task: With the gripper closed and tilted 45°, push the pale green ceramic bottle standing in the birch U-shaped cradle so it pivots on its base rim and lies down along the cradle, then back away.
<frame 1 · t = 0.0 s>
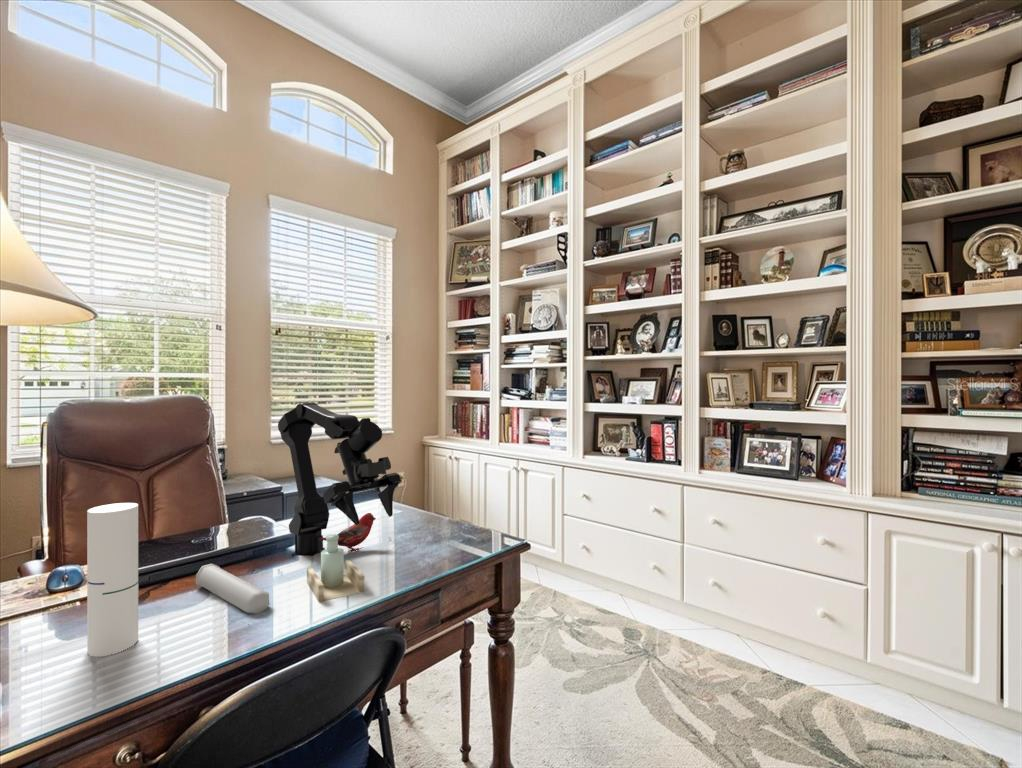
hand: (374, 520, 117), 15 cm above the table, tool tilted 35°, fingers open, 9 cm apart
bottle: (332, 583, 115), resting on cradle
cradle: (335, 589, 113), on the table
decorative bird figurine: (348, 554, 137), on the table
cylindrical container: (113, 646, 89), on the table
tube: (233, 600, 108), on the table
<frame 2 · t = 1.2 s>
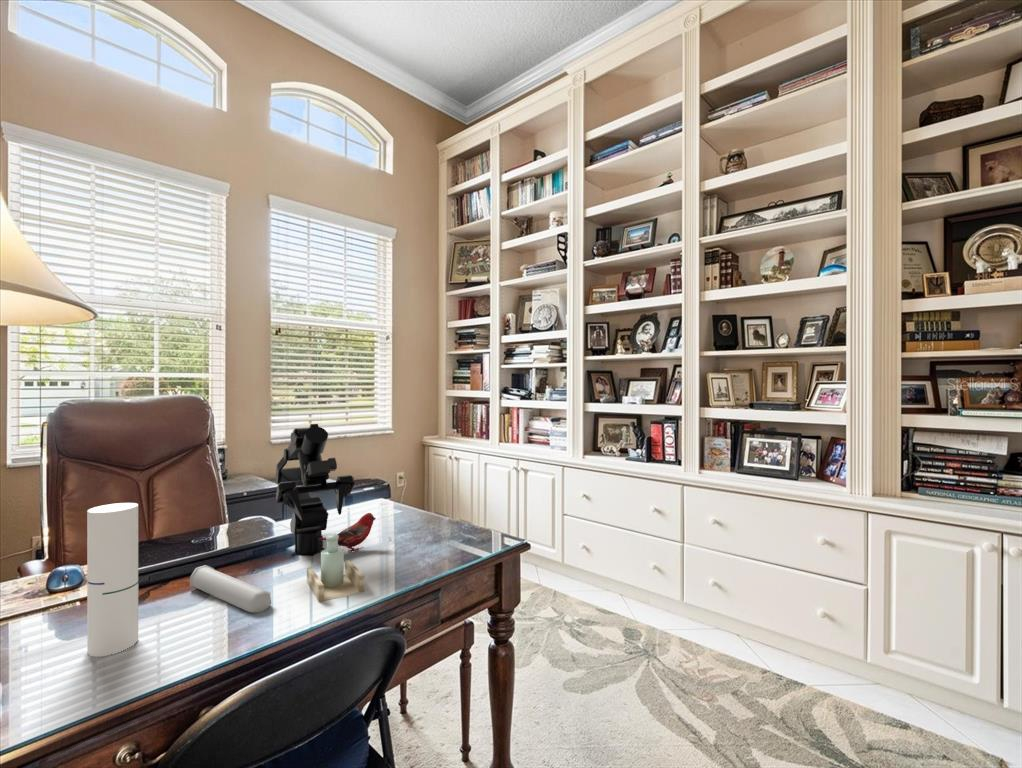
hand: (321, 516, 125), 14 cm above the table, tool tilted 45°, fingers open, 9 cm apart
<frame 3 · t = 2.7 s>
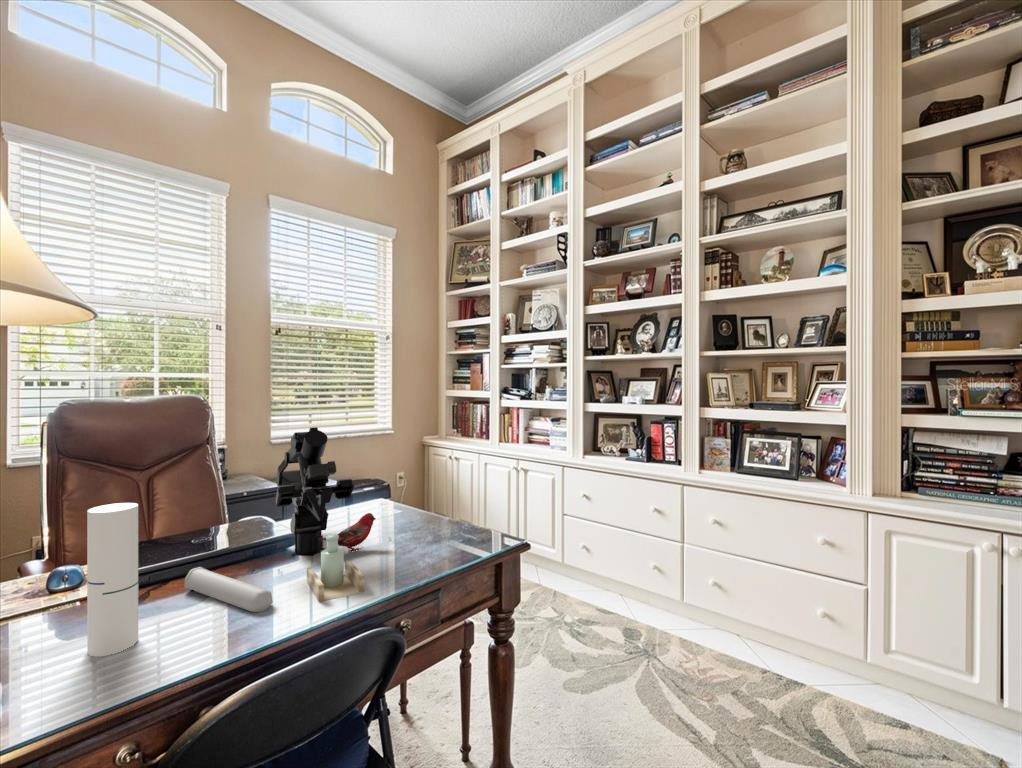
hand: (321, 520, 124), 13 cm above the table, tool tilted 45°, fingers closed
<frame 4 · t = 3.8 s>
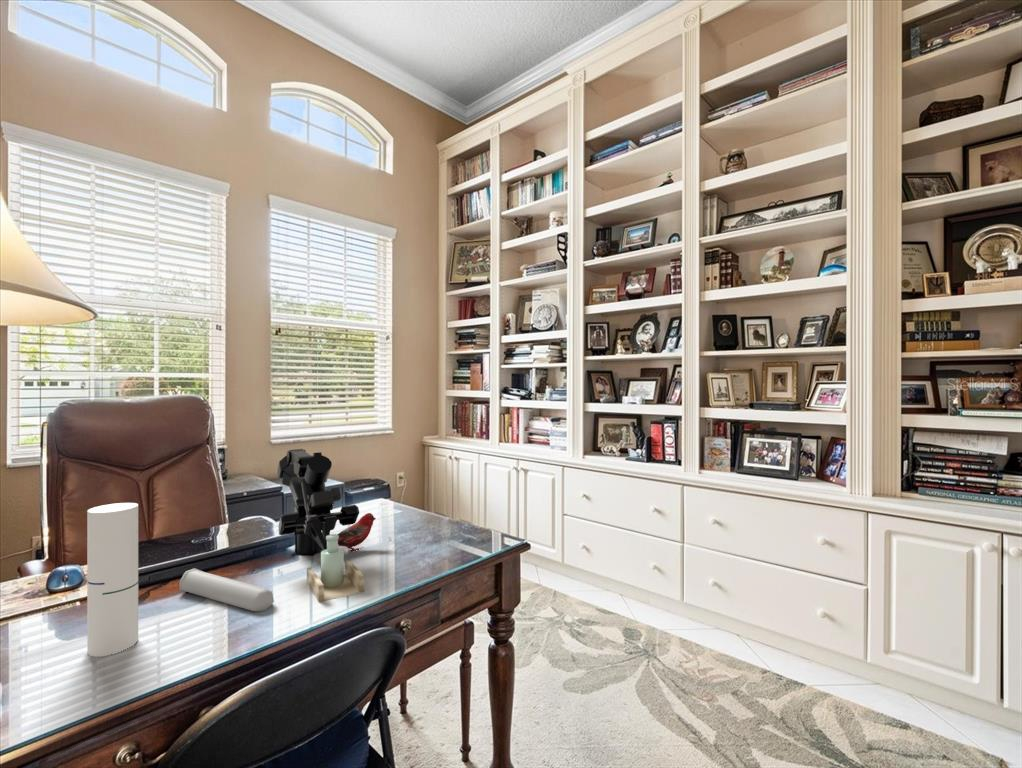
hand: (325, 549, 120), 7 cm above the table, tool tilted 45°, fingers closed
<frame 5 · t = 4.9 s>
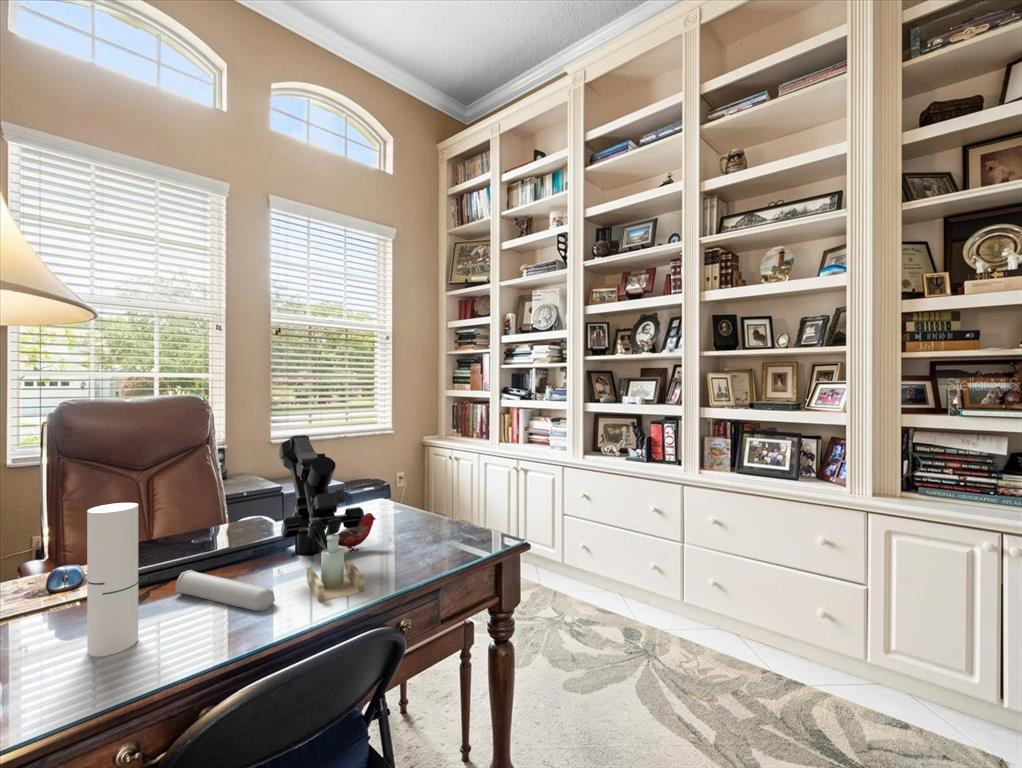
hand: (329, 553, 117), 7 cm above the table, tool tilted 45°, fingers closed, pressing on bottle
bottle: (332, 582, 115), point 1 cm above the table, touching cradle, gripper
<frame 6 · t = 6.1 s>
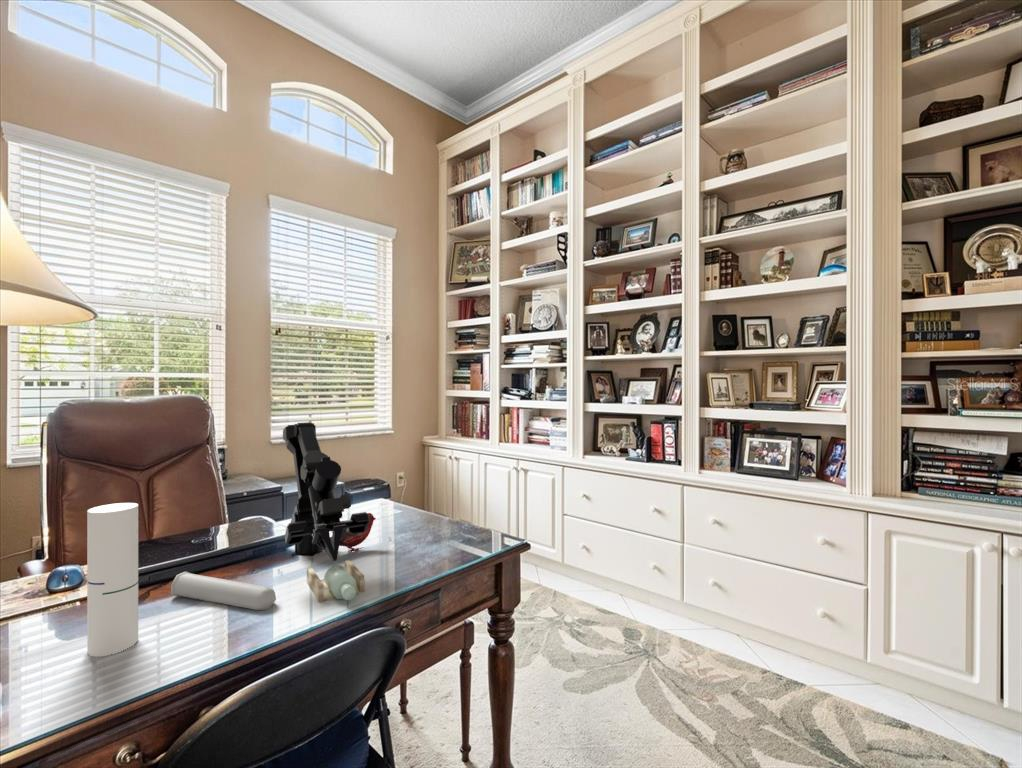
hand: (335, 560, 113), 7 cm above the table, tool tilted 45°, fingers closed
bottle: (335, 576, 113), point 3 cm above the table, tilted 90°, touching cradle
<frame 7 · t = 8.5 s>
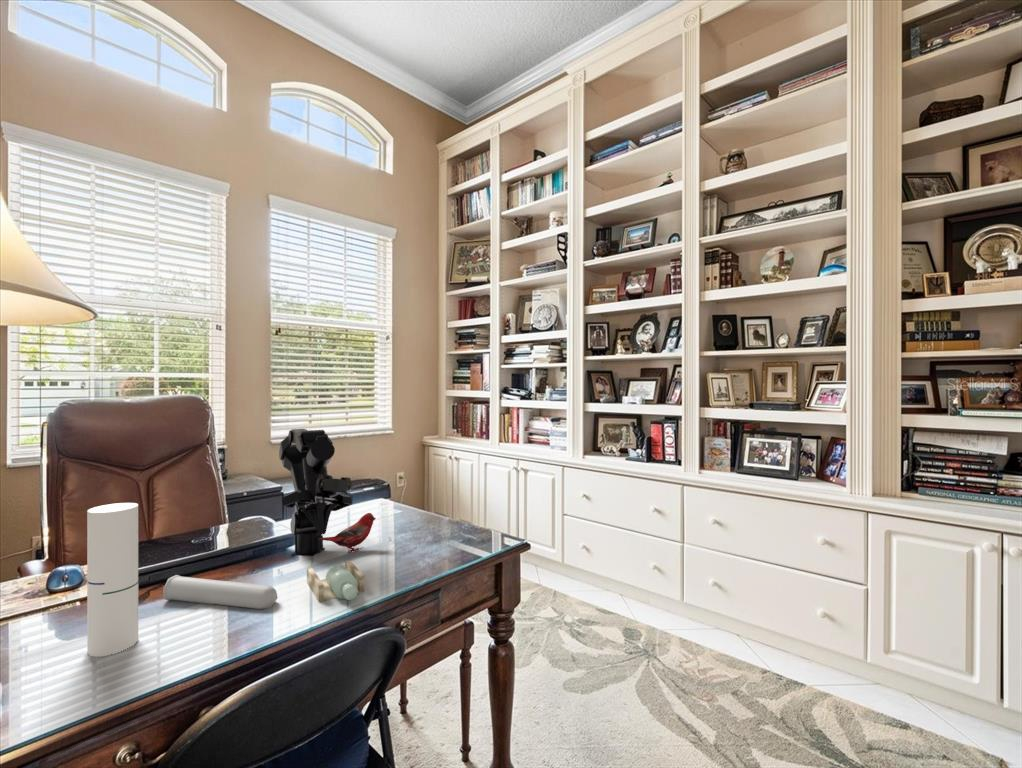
hand: (322, 534, 123), 10 cm above the table, tool tilted 30°, fingers closed
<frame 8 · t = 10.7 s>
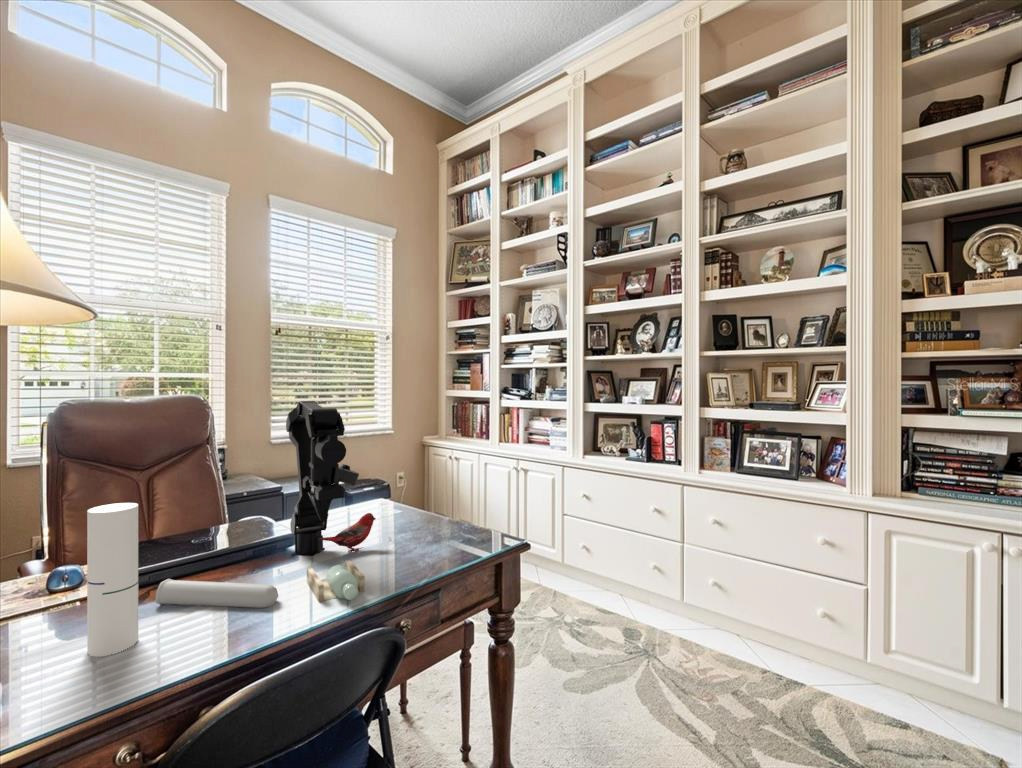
hand: (323, 521, 123), 13 cm above the table, tool pointing down, fingers closed
at the end: bottle tilted 90°; bottle touching cradle; bottle 0.5 cm from the cradle (horizontally) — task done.
